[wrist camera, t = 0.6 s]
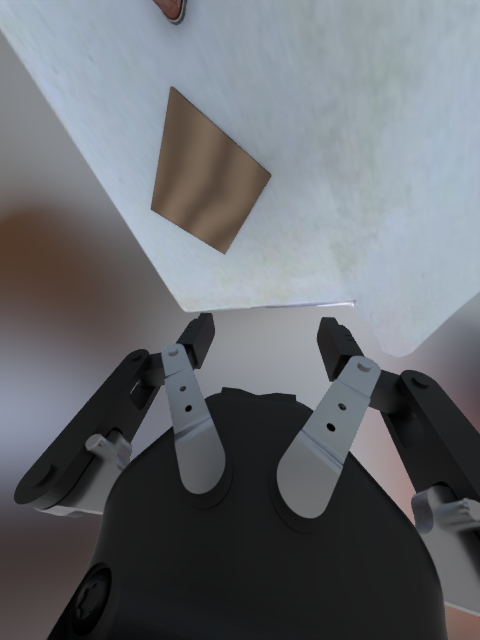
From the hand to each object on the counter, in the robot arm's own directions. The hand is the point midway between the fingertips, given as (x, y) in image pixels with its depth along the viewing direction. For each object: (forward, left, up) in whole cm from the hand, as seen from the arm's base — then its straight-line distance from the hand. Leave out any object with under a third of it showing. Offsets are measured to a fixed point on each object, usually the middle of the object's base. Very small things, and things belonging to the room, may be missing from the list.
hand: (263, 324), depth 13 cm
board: (-10, -4, -27) cm, 29 cm away
